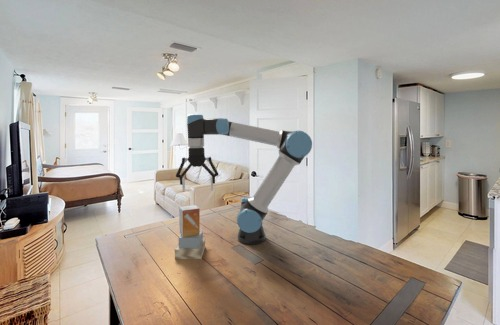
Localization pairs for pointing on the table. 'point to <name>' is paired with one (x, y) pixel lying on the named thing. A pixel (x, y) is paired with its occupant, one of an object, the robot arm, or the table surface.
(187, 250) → the tower base
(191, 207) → the small box
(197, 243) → the tower top
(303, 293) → the table surface
